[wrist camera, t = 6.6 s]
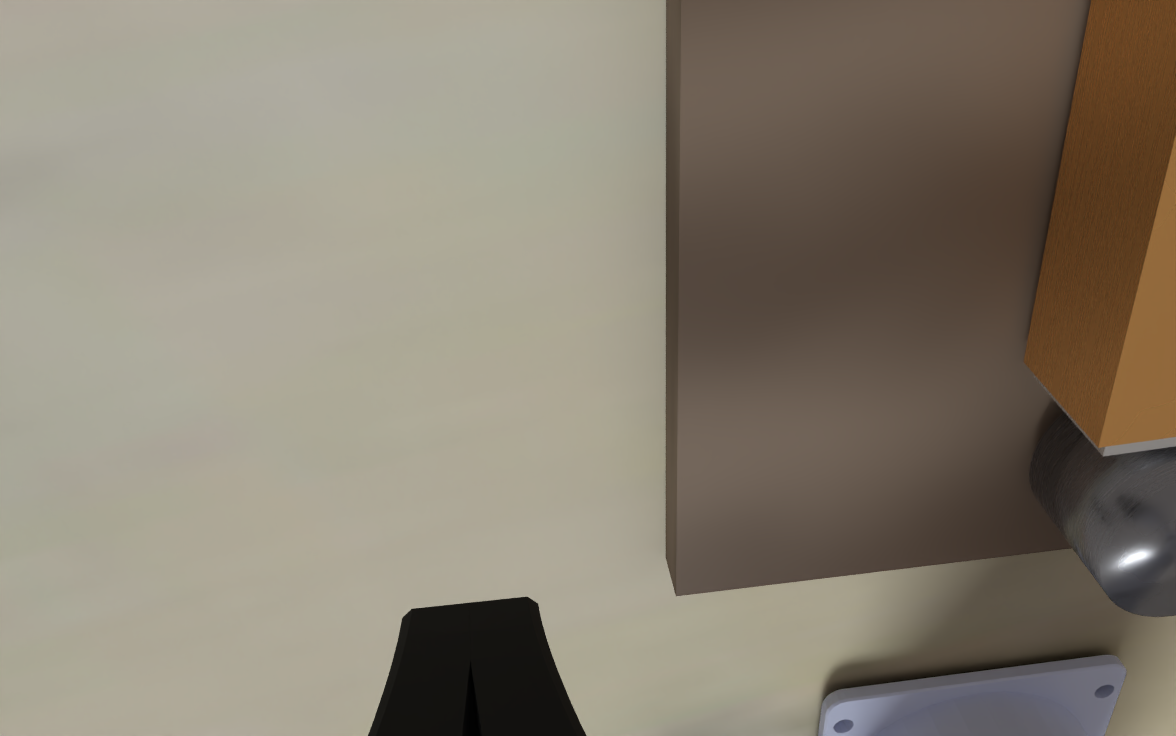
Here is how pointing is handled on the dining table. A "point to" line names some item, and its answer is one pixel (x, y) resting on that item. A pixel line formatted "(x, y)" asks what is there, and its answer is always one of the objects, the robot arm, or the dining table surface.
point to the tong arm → (1114, 311)
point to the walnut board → (857, 281)
